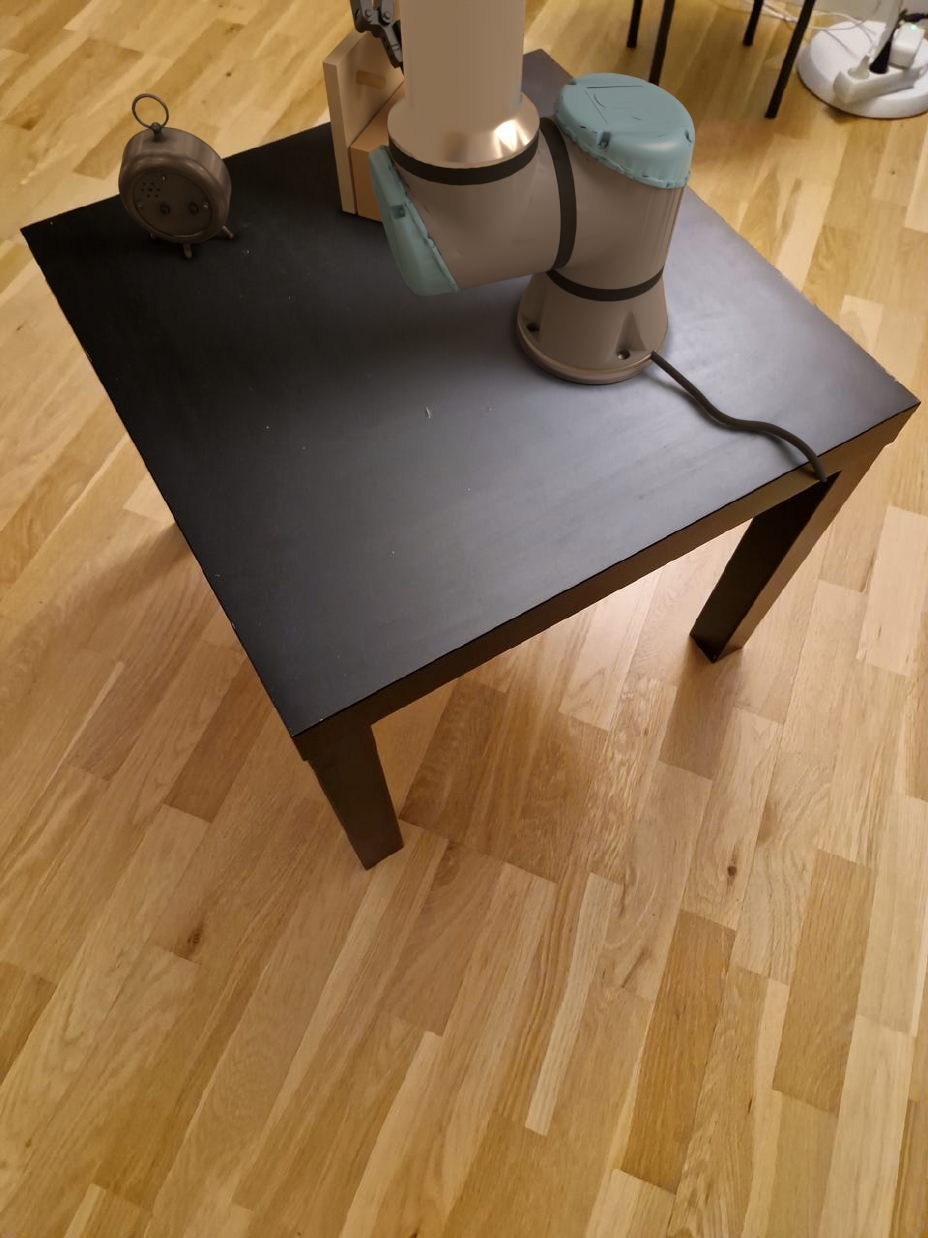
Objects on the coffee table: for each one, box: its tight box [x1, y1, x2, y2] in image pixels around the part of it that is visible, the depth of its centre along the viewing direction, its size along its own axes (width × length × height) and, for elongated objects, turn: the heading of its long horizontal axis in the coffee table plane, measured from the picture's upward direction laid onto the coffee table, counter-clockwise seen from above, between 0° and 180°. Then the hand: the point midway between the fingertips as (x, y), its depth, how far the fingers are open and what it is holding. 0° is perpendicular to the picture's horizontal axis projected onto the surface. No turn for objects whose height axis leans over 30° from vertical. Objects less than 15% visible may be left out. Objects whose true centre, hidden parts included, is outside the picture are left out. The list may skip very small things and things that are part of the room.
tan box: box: [321, 0, 405, 223], centre depth 90 cm, size 16×16×16 cm
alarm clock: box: [117, 93, 234, 258], centre depth 85 cm, size 11×5×16 cm, turn 92°
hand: (466, 79), depth 83 cm, fingers closed on mug, 10 cm apart
